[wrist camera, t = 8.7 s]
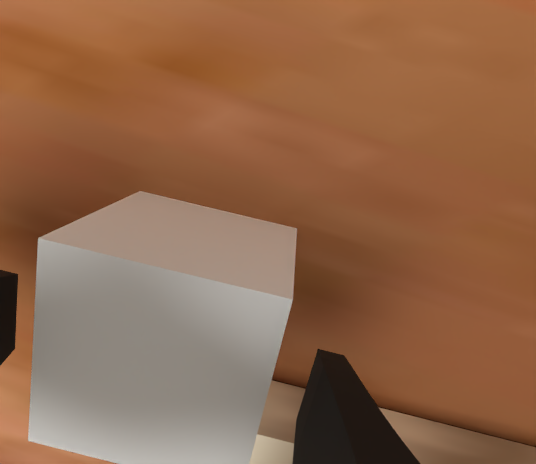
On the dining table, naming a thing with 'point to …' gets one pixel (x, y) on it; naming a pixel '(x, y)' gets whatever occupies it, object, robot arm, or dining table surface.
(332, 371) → the robot arm
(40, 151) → the dining table surface
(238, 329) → the grey block
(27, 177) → the dining table surface
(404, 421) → the sliding lid box
